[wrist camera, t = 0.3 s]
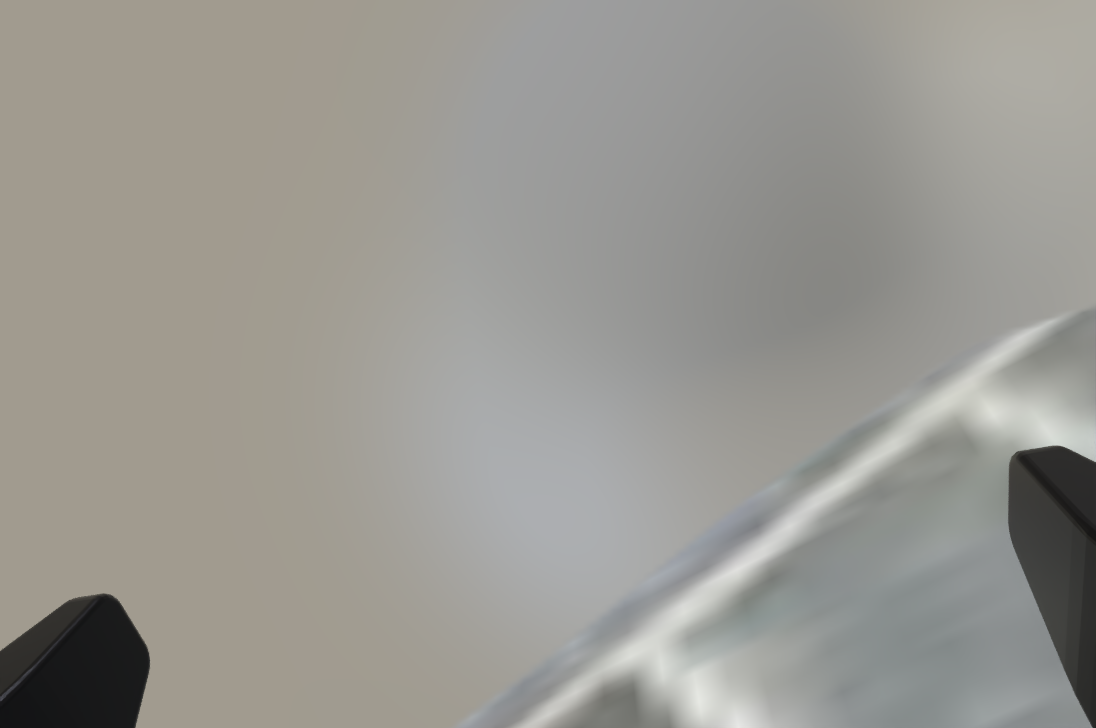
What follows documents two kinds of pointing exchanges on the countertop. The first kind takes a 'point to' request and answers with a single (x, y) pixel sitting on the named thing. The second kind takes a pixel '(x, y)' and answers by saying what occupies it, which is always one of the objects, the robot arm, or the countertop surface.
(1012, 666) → the countertop surface
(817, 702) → the countertop surface
